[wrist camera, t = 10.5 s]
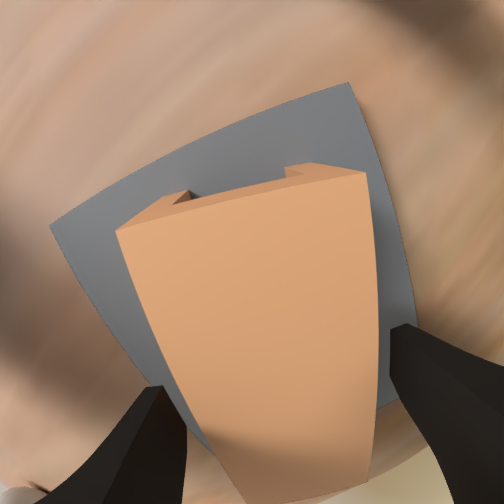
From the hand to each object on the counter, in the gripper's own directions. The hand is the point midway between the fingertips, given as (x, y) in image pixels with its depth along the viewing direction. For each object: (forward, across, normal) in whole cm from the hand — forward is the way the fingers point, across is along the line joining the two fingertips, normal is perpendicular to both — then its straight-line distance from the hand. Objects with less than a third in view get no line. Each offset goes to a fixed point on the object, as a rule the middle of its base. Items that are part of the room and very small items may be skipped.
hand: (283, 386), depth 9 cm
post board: (+4, 0, 0) cm, 4 cm away
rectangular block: (+3, 0, 0) cm, 3 cm away
